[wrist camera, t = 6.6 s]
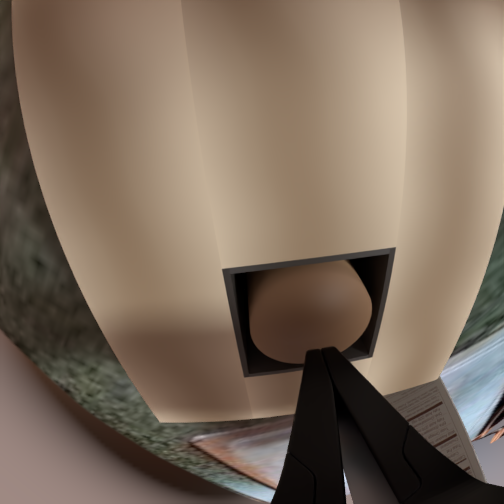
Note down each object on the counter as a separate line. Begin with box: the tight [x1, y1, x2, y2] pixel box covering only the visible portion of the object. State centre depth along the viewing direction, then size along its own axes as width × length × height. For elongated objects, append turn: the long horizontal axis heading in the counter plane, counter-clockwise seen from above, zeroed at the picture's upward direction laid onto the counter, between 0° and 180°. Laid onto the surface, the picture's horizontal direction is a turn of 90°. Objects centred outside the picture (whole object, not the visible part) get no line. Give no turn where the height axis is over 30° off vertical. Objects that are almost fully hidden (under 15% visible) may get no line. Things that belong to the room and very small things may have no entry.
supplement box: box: [384, 376, 487, 483], centre depth 16 cm, size 7×7×13 cm
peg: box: [246, 259, 372, 364], centre depth 11 cm, size 4×4×4 cm
